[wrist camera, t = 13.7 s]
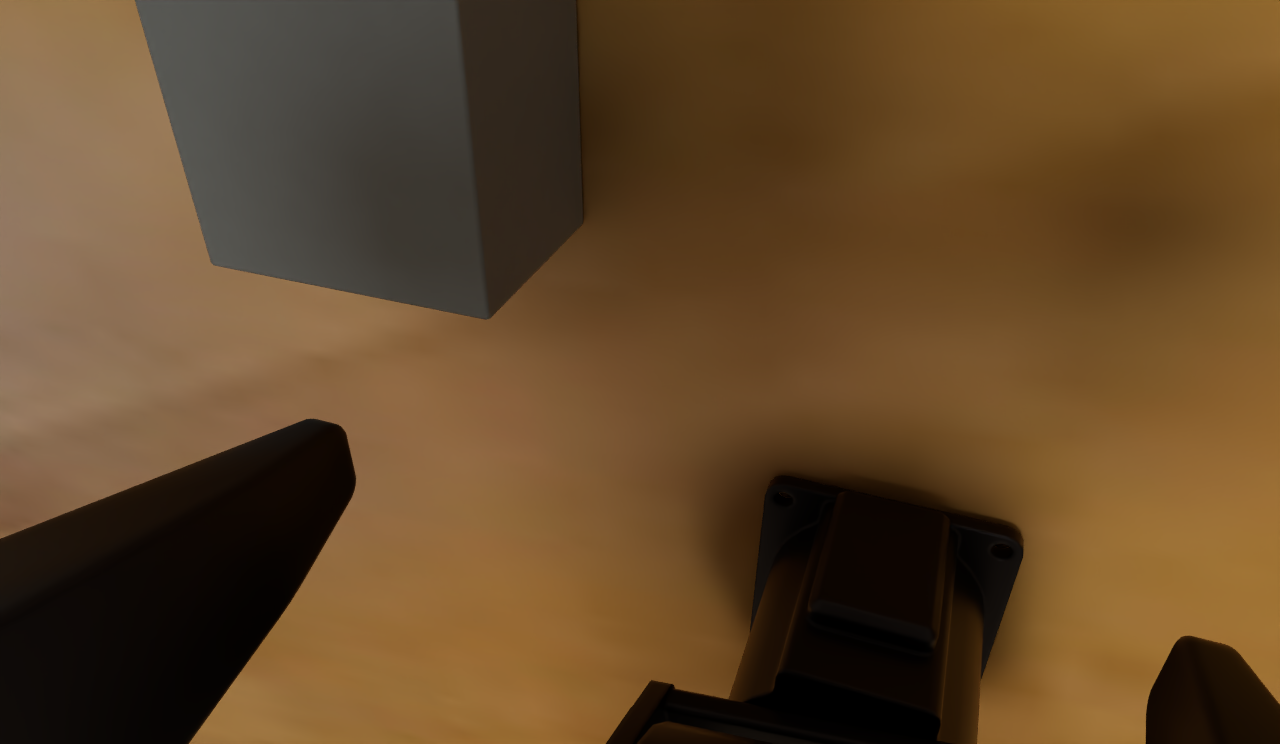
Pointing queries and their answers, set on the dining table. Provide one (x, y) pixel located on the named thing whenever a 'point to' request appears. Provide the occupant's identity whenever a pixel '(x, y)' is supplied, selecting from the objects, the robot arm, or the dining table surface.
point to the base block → (377, 139)
